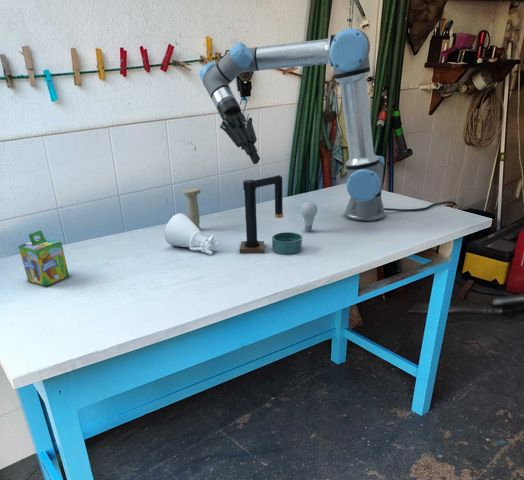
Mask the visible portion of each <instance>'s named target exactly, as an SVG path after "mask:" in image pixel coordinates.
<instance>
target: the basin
mask: <svg viewBox="0 0 524 480" xmlns="http://www.w3.org/2000/svg"><path fill="white" fill-rule="evenodd" d="M271 237H272V238H271V245H272V250H273V252H274V253H277V254H282V255H292V254H296V253H299V252H300V251H302V250H303V235H301V234H300V233H298V232H292V231H291V232H290V231H287V232H285V231H283V232H278V233H275V234H273V235H272V236H271Z"/></svg>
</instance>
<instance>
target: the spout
mask: <svg viewBox="0 0 524 480" xmlns="http://www.w3.org/2000/svg"><path fill="white" fill-rule="evenodd" d="M242 184H243V185H242V187H243V189H242V190H243V191H254V190H257V189H258V188H263V187H267V186H272V185H274V218H275V219H283V217H284V213H283V212H284V211H283V210H284V209H283V207H284V206H283V196H284V195H283V177H282V175H280V174H277V175H273V176H268V177H265V178H259V179H245V180H243V181H242Z"/></svg>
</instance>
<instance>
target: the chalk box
mask: <svg viewBox="0 0 524 480" xmlns="http://www.w3.org/2000/svg"><path fill="white" fill-rule="evenodd" d="M37 236H38V237H39V238H36V239H35V237H37ZM28 237H29V240H30V241H27V242H25V243H22V244H20V245H18V246H17V247H18V250H19V254H20V256H21V260H22V264H23V267H24V272H25V274H26V275H25V276H26V279H27V281H28V282H30V283H33V284H37V285H40V286H44V287H48V286H50V285H53V284H55V283H57V282H60V281H62V280H65V279H67V278H69V277H70V275H69V269H68V265H67V261H66V256H65V252H64V248H63V243H62V242H61V241H58V240H55V239H51V238H46V237H45V236H44V233H43V231H42V230H37V231H34V232H32V233H28Z"/></svg>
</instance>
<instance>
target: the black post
mask: <svg viewBox="0 0 524 480" xmlns="http://www.w3.org/2000/svg"><path fill="white" fill-rule="evenodd" d="M256 190H257V189H256ZM256 190H254V191H245V190H243V191H244V211H245V232H246V235H245V236H246V240H244V241H243V240H241V241H240V245H239V254H264V252H265V240H258V223H257V221H258V220H257V194H256V193H257V191H256Z"/></svg>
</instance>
